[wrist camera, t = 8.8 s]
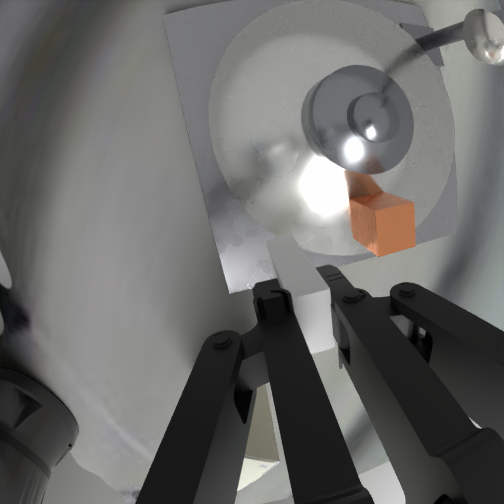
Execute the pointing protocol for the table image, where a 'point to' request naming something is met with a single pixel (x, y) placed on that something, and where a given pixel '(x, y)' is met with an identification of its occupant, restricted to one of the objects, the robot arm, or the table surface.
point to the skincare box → (259, 442)
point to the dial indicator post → (465, 36)
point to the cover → (358, 120)
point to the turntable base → (211, 178)
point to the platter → (295, 144)
